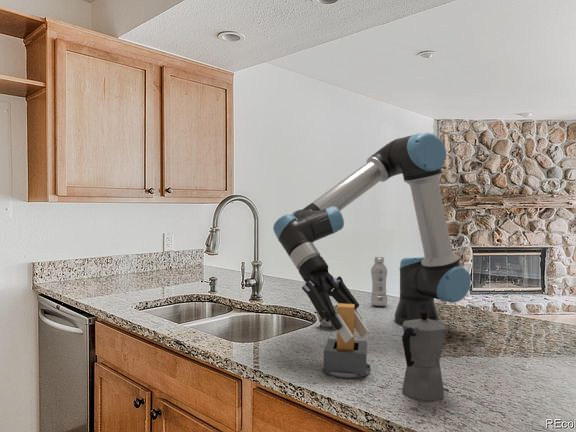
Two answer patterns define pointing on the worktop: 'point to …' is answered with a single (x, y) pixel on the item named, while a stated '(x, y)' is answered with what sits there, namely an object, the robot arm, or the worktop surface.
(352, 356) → the socket collar
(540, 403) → the worktop surface
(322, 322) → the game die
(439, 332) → the coffeepot
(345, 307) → the orange rectangular block
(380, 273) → the plastic bottle
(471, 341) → the worktop surface
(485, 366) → the worktop surface
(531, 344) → the worktop surface
